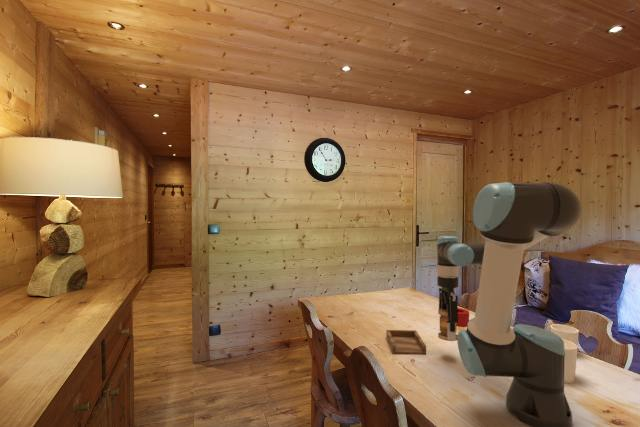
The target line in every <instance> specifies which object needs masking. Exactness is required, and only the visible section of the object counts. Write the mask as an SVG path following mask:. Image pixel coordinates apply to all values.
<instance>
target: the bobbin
mask: <svg viewBox="0 0 640 427" xmlns="http://www.w3.org/2000/svg"><path fill="white" fill-rule="evenodd" d="M437 312H438V315H439V331H440V332H438V334H437V335H438V336H437V337H438V339H440V340H443V341H448V342H456V341H457V335H458V334H456V340H448V334H447V321H448V312H447V309H439V308H438V310H437Z"/></svg>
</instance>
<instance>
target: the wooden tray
mask: <svg viewBox="0 0 640 427" xmlns="http://www.w3.org/2000/svg"><path fill="white" fill-rule="evenodd" d="M385 337H386V341H387V342H388V345H389V347H390V351H391V353H392V354H393V355H419V356H420V355H422V356H423V355H427V345H426V344H425V342H424V340H423V339H422V337H421V336H420V334H419V333H418V331H417V330H414V329H413V330H408V329H406V330H405V329H404V330H403V329H386V334H385Z"/></svg>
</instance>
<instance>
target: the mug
mask: <svg viewBox="0 0 640 427" xmlns="http://www.w3.org/2000/svg"><path fill="white" fill-rule="evenodd" d="M549 327H550V332H553V333H554V334H556V335H558V336H559V337H560V338H561V339H564V340H568V341H570V342H573V343H574V344H576V345H577V346H578V347H579V333H580V330H579V329H577V328H576V327H573V326H570V325H567V324H559V323H557V324H555V323H554V324H551V325H550V326H549Z"/></svg>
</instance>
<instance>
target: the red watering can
mask: <svg viewBox="0 0 640 427" xmlns="http://www.w3.org/2000/svg"><path fill="white" fill-rule="evenodd" d="M469 321H470V311H469V310H467V309H465V308H460V307H458V323H456V327H457V326H458V328H467V326H468V322H469Z"/></svg>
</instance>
